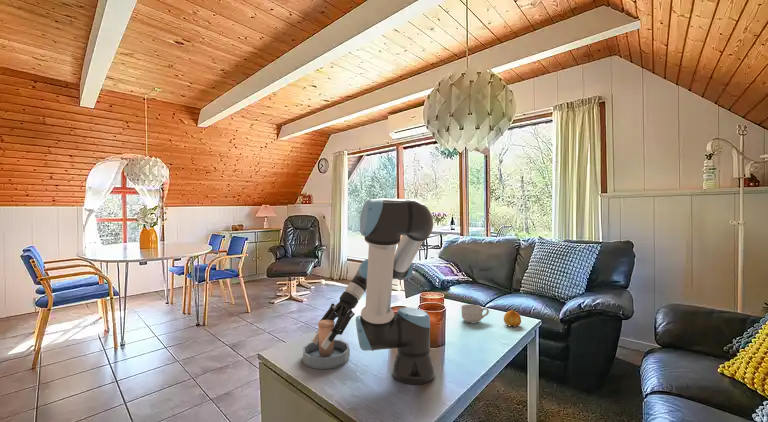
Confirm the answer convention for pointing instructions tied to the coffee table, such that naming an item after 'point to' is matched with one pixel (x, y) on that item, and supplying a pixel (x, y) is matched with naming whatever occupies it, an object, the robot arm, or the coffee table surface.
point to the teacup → (473, 312)
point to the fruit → (512, 318)
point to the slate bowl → (326, 362)
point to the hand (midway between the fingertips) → (318, 345)
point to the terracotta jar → (324, 330)
